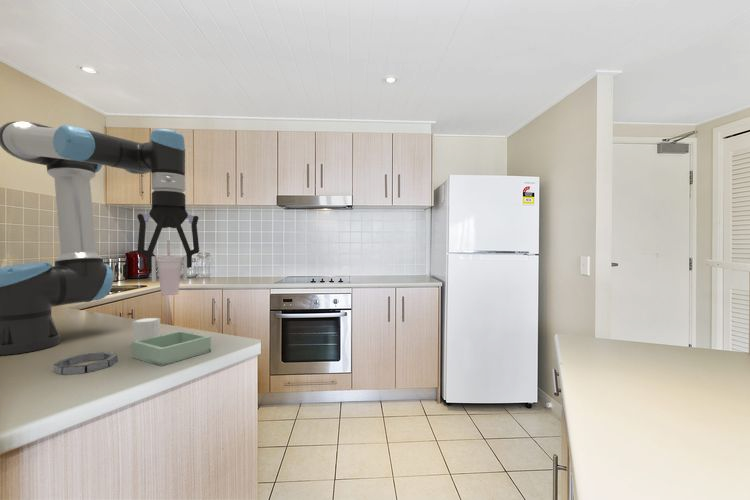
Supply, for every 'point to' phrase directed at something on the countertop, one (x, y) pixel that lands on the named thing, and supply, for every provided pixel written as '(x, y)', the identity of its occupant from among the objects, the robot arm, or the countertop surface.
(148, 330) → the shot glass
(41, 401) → the countertop surface
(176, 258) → the smoothie
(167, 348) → the bin
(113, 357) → the collar
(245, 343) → the countertop surface
